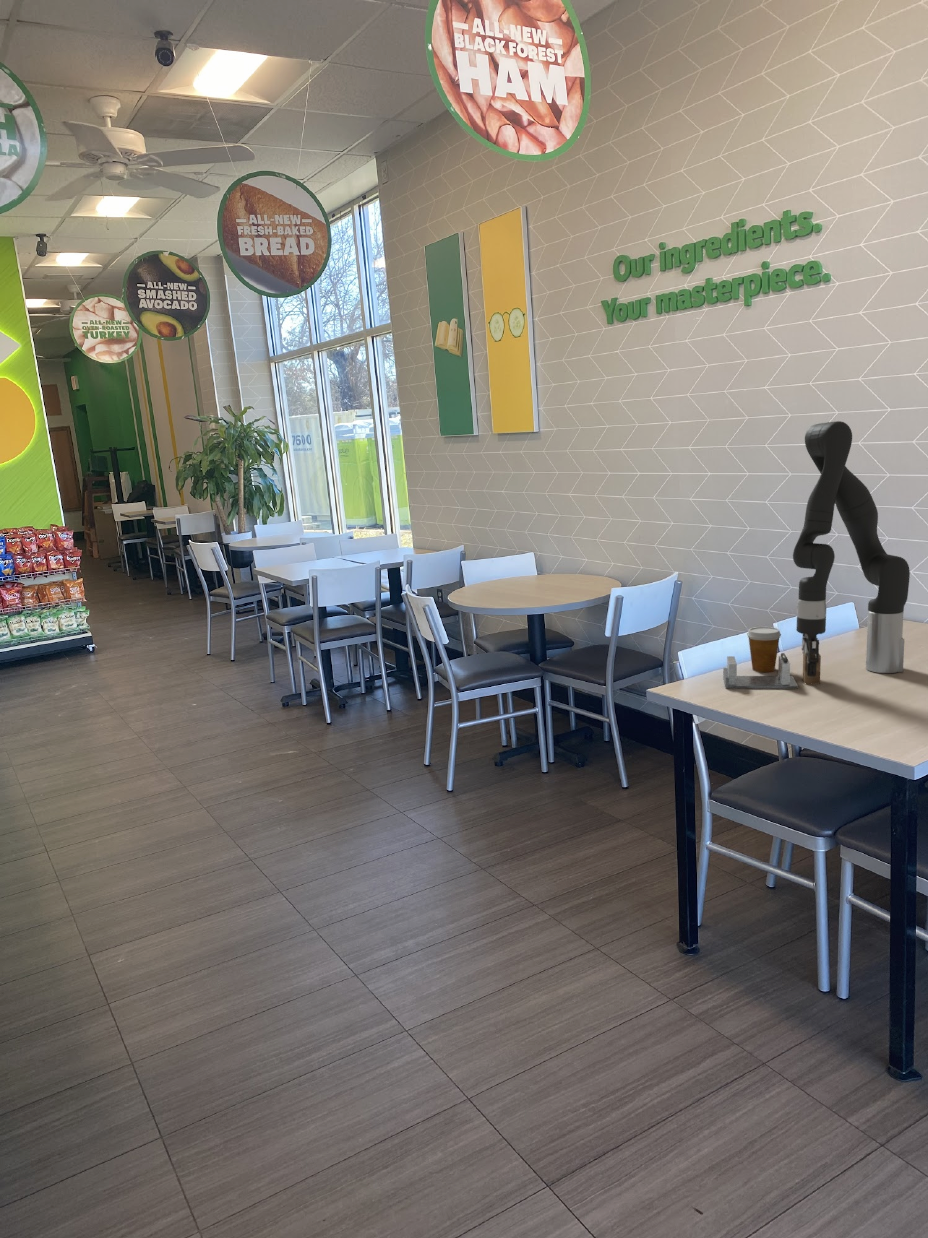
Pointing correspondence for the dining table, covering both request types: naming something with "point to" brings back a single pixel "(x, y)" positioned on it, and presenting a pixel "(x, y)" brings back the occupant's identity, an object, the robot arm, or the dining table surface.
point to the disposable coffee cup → (763, 648)
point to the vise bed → (751, 679)
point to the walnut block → (805, 677)
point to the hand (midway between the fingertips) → (809, 672)
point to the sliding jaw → (784, 670)
